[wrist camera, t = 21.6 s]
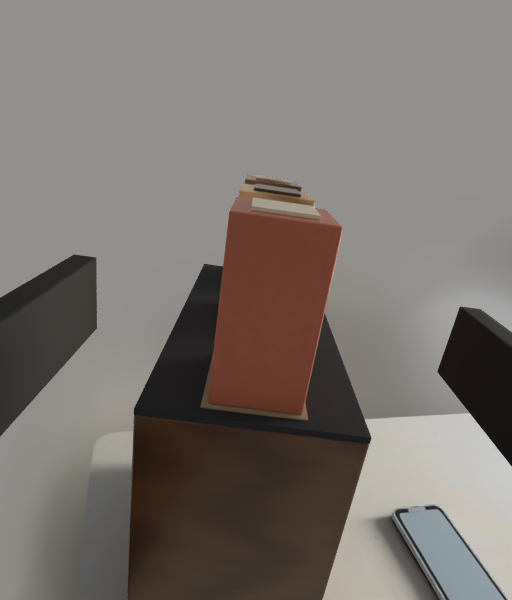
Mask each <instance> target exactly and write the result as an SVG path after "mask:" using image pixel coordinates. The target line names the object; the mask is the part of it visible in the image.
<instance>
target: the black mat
mask: <svg viewBox="0 0 512 600" xmlns="http://www.w3.org/2000/svg"><path fill="white" fill-rule="evenodd" d="M222 273H223V267H222V266H215V265H208V264H204V266H203V268H202V270H201V272H200V274H199V276H198V279H197V280H196V283H195V285H194V287H193V289H192V291H191V293H190V295H189V297H188V299H187V301H186V303H185V305H184V307H183V309H182V311H181V313H180V316H179V317H178V319H177V322H176V324H175V326H174V328H173V330H172V332H171V334H170V336H169V338H168V340H167V342H166V344H165V346H164V348H163V350H162V352H161V354H160V356H159V359H158V361H157V363H156V365H155V367H154V369H153V371H152V373H151V375H150V377H149V379H148V381H147V383H146V385H145V388H144V389H143V392H142V394H141V396H140V398H139V400H138V402H137V404H136V406H135V408H134V415H139V416H147V417H155V418H163V419H171V420H179V421H188V422H196V423H204V424H212V425H220V426H228V427H237V428H245V429H253V430H261V431H269V432H277V433H286V434H294V435H302V436H310V437H318V438H327V439H335V440H343V441H351V442H359V443H367V444H370V441H371V435H370V433H369V430H368V427H367V425H366V422H365V420H364V417H363V414H362V412H361V409H360V406H359V404H358V401H357V398H356V396H355V393H354V390H353V388H352V385H351V382H350V380H349V377H348V374H347V372H346V369H345V366H344V364H343V361H342V359H341V356H340V353H339V350H338V348H337V345H336V343H335V340H334V337H333V335H332V332H331V329H330V327H329V324H328V321H327V319H326V316H325V313H324V318H323V322H322V327H321V331H320V336H319V341H318V345H317V350H316V354H315V359H314V364H313V368H312V373H311V377H310V382H309V386H308V391H307V396H306V400H305V405H304V409H303V413H302V415H299V414H291V413H283V412H275V411H267V410H259V409H251V408H243V407H235V406H227V405H219V404H211V403H208V396H209V387H210V378H211V370H212V361H213V352H214V343H215V334H216V326H217V317H218V308H219V299H220V290H221V282H222Z"/></svg>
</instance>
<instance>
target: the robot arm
mask: <svg viewBox="0 0 512 600" xmlns="http://www.w3.org/2000/svg"><path fill="white" fill-rule="evenodd" d="M96 304H97V303H96V258H95V257H88V256H80V255H73V256H71V257H69V258H68V259H66V260H64V261H62V262H61V263H59V264H57V265H56V266H54V267H52V268H51V269H49V270H47V271H46V272H44V273H42V274H40V275H38V276H37V277H35V278H34V279H32V280H30V281H28V282H26V283H25V284H23V285H21V286H20V287H18V288H16V289H14V290H13V291H11V292H9V293H8V294H6V295H4V296H3V297H1V298H0V436H1V435H2V434H3V433H4V431H5V430H6V429H7V428H8V427H9V426H10V424H12V422H13V421H14V420H15V419H16V418H17V417H18V416H19V415H20V414H21V412H22V411H23V410H24V409H25V408H26V407H27V406H28V405H29V404H30V402H31V401H32V400H33V399H34V398H35V397H36V396H37V394H38V393H39V392H40V391H41V390H42V389H43V388H44V387H45V386H46V385H47V383H48V382H49V381H50V380H51V379H52V378H53V377H54V376H55V374H56V373H57V372H58V371H59V370H60V369H61V368H62V367H63V366H64V364H65V363H66V362H67V361H68V360H69V359H70V358H71V357H72V356H73V354H74V353H75V352H76V351H77V350H78V349H79V348H80V346H81V345H82V344H83V343H84V342H85V341H86V340H87V339H88V337H90V335H91V334H92V333H93V332H94V331H95V330H96V329H97V323H96V322H97V315H96V314H97V311H96V307H97V305H96ZM438 373H439V374H440V376H441V377H442V378H443V380H444V381H445V382H446V383H447V385H448V386H449V387H450V388H451V390H452V391H453V392H454V393H455V395H456V396H457V397H458V399H459V400H460V401H461V402H462V404H463V405H464V406H465V408H466V409H467V410H468V411H469V413H470V414H471V415H472V416H473V418H474V419H475V420H476V422H477V423H478V424H479V425H480V427H481V428H482V429H483V430H484V432H485V433H486V434H487V435H488V437H489V438H490V439H491V441H492V442H493V443H494V444H495V446H496V447H497V448H498V449H499V451H500V452H501V453H502V455H503V456H504V457H505V458H506V460H507V461H508V462H509V463H510V465H511V466H512V332H511V331H509V330H508V329H506V328H505V327H504V326H502V325H501V324H500V323H498V322H497V321H495V320H494V319H493V318H492V317H490V316H489V315H487V314H486V313H485V312H483V311H482V310H481V309H474V308H466V307H460V308H459V311H458V314H457V317H456V320H455V323H454V326H453V329H452V331H451V334H450V337H449V340H448V343H447V346H446V349H445V352H444V354H443V357H442V360H441V363H440V366H439V369H438Z"/></svg>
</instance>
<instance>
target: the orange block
mask: <svg viewBox="0 0 512 600" xmlns="http://www.w3.org/2000/svg"><path fill="white" fill-rule="evenodd" d="M342 231H343V227H342V226H341V225H340V224H339V223H338V222H337V221H336V220H335V219H334V218H333V217H332V216H331V215H330V214H329V213H328V212H327V211H326V210H323V209H317V208H314V207H313V206H309V205H302V204H296V203H289V202H282V201H275V200H268V199H261V198H254V197H253V199H247V198H240V197H237V198H236V200H235V202H234V204H233V206H232V208H231V210H230V212H229V220H228V229H227V238H226V246H225V255H224V264H223V273H222V282H221V290H220V299H219V308H218V317H217V326H216V334H215V343H214V352H213V361H212V370H211V378H210V387H209V396H208V403H211V404H219V405H227V406H235V407H243V408H251V409H259V410H267V411H275V412H283V413H291V414H299V415H302V413H303V409H304V405H305V400H306V396H307V391H308V386H309V382H310V377H311V373H312V368H313V364H314V359H315V354H316V350H317V345H318V341H319V336H320V331H321V327H322V322H323V318H324V313H325V309H326V304H327V299H328V295H329V290H330V286H331V281H332V277H333V272H334V267H335V263H336V258H337V254H338V249H339V244H340V240H341V235H342Z"/></svg>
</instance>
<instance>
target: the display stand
mask: <svg viewBox="0 0 512 600" xmlns="http://www.w3.org/2000/svg"><path fill="white" fill-rule="evenodd" d="M368 447H369V444H367V443H359V442H351V441H343V440H335V439H327V438H318V437H310V436H302V435H294V434H286V433H277V432H269V431H261V430H253V429H245V428H237V427H228V426H220V425H212V424H204V423H196V422H188V421H179V420H171V419H163V418H155V417H147V416H139V415H134V430H133V459H132V488H131V517H130V546H129V575H128V600H322V599H323V596H324V593H325V589H326V586H327V583H328V579H329V576H330V573H331V569H332V566H333V563H334V559H335V556H336V553H337V549H338V546H339V543H340V539H341V536H342V533H343V530H344V526H345V523H346V520H347V516H348V513H349V510H350V506H351V503H352V500H353V496H354V493H355V490H356V486H357V483H358V480H359V476H360V473H361V470H362V466H363V463H364V460H365V456H366V453H367V450H368Z"/></svg>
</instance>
